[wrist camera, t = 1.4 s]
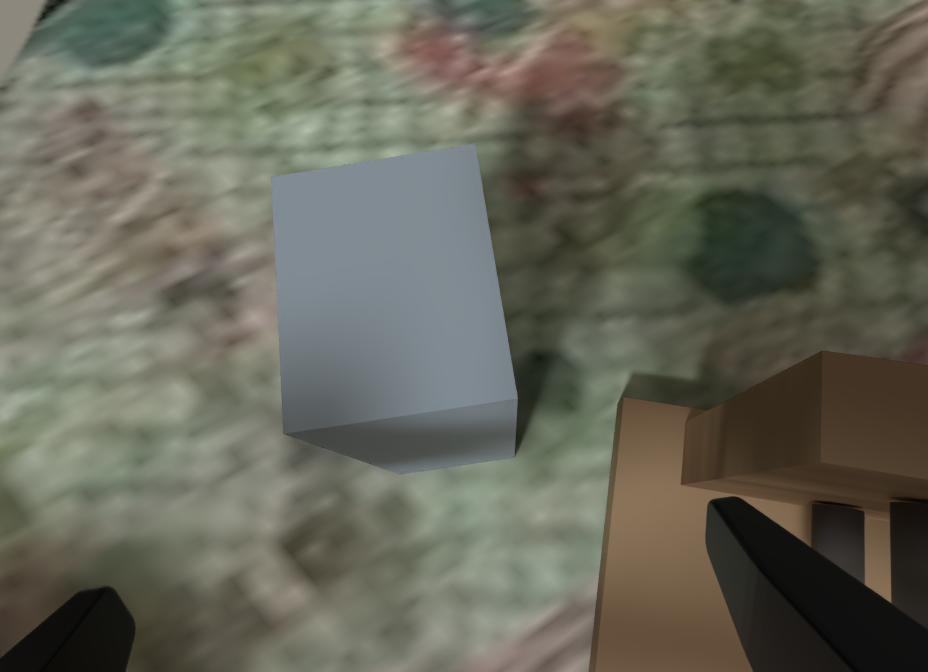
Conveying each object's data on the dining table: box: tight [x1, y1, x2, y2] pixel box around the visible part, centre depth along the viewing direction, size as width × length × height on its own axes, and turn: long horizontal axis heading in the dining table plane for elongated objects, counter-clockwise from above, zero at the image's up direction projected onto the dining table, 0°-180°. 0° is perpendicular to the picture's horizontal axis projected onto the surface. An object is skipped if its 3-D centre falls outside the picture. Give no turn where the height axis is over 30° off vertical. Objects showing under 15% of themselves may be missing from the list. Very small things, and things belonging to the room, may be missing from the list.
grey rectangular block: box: [271, 144, 518, 474], centre depth 16 cm, size 5×4×11 cm
